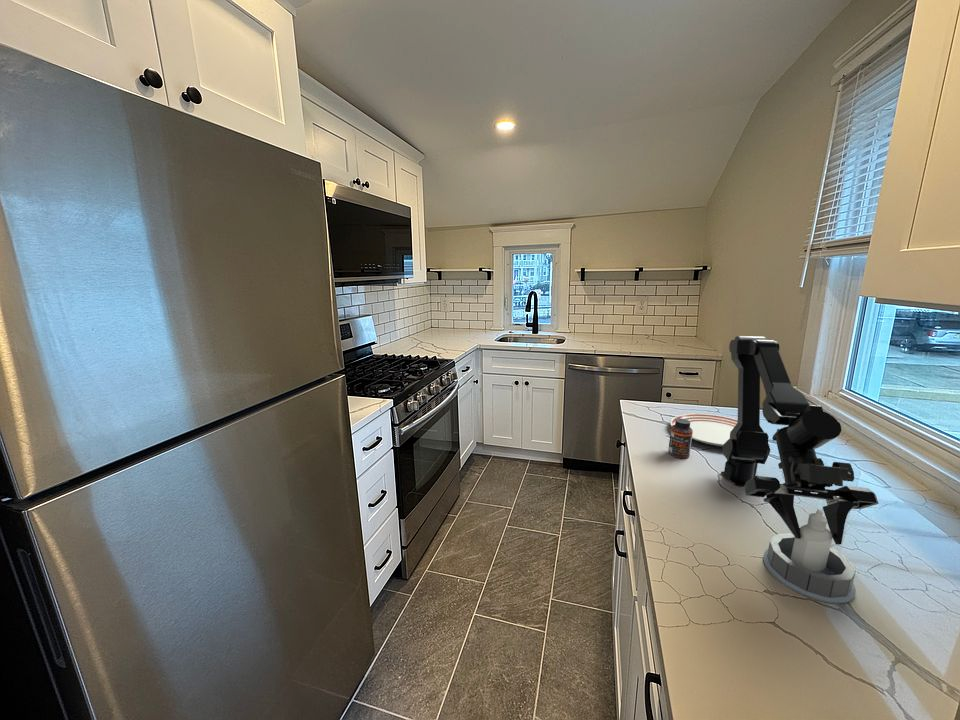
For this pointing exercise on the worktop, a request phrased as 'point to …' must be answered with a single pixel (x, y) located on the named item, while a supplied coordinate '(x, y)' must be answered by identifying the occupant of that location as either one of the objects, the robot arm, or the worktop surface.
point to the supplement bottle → (680, 439)
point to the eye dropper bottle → (813, 544)
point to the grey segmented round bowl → (811, 572)
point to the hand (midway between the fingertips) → (818, 541)
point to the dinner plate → (709, 427)
